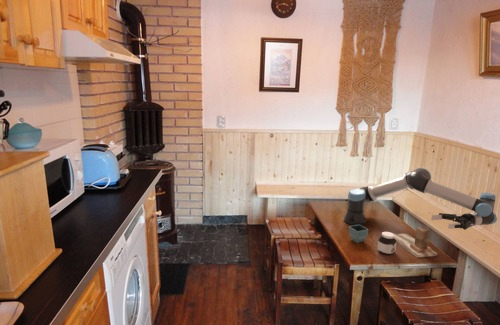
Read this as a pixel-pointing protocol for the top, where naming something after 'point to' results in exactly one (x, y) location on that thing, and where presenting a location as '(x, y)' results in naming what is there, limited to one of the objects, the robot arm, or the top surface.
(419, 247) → the block
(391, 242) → the spread jar
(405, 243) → the plywood board
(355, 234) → the flower pot
